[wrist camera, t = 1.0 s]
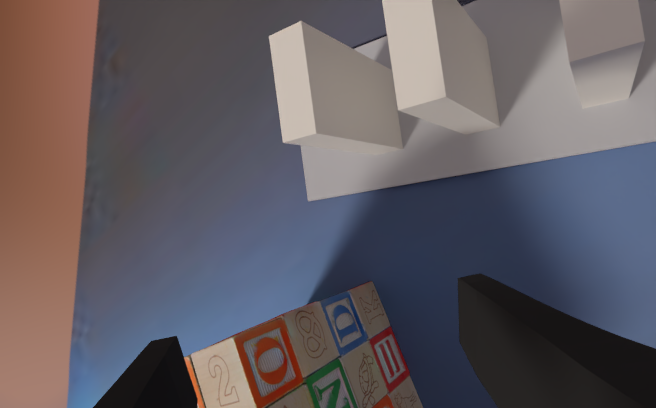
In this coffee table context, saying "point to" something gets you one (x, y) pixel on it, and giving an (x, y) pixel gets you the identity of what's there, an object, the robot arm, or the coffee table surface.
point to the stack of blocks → (309, 360)
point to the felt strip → (502, 109)
